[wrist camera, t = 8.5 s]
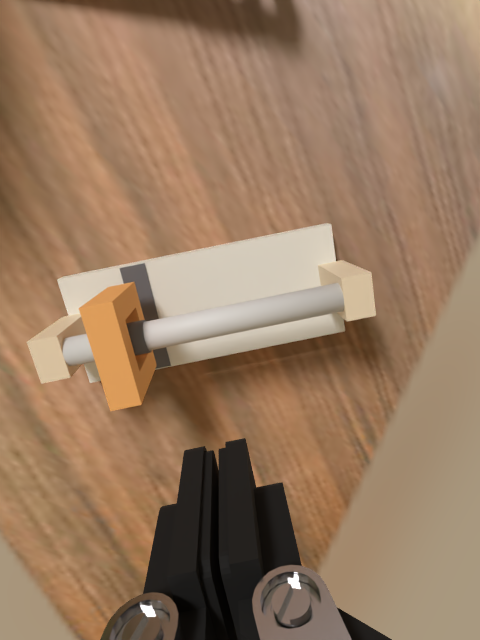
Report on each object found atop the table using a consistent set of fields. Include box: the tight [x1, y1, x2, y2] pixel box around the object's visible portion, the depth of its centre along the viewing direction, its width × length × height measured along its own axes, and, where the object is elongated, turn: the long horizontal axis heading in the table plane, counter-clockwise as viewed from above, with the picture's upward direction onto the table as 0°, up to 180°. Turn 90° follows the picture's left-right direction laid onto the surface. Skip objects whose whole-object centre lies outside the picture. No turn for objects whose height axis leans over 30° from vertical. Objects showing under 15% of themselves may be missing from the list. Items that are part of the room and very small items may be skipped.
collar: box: [79, 282, 157, 411], centre depth 28 cm, size 2×7×7 cm, turn 11°
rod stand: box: [27, 223, 376, 383], centre depth 31 cm, size 23×9×8 cm, turn 101°
